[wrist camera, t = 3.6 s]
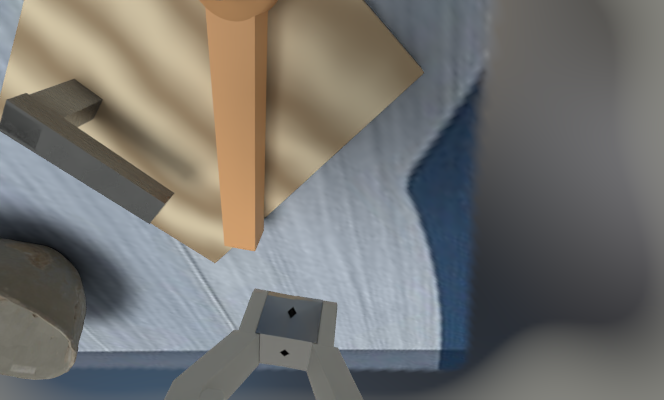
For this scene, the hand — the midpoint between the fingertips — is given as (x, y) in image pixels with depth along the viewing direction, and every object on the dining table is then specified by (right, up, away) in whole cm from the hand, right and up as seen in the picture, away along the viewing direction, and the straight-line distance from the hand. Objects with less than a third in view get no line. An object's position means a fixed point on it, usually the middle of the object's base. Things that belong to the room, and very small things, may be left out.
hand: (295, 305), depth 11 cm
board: (-11, +13, +16) cm, 23 cm away
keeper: (-16, +10, +18) cm, 26 cm away
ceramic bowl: (-38, -5, +32) cm, 50 cm away
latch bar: (-6, +11, +14) cm, 19 cm away
